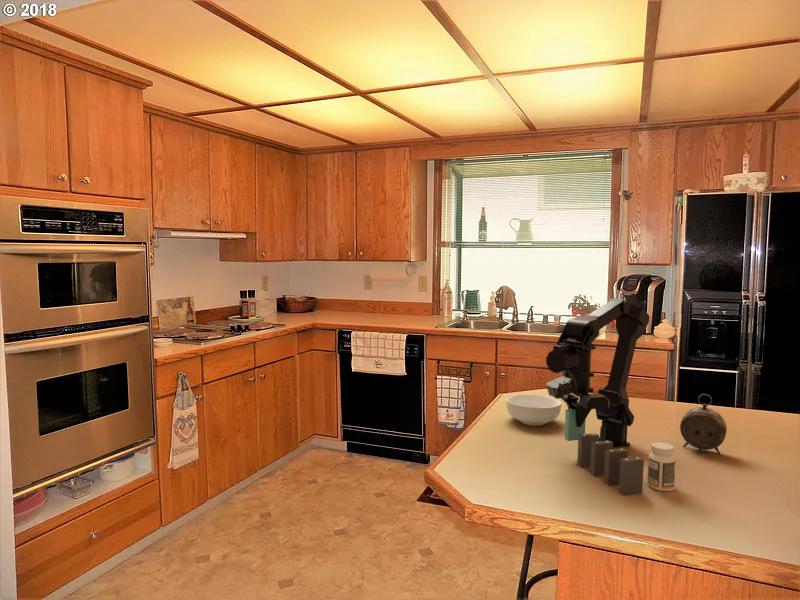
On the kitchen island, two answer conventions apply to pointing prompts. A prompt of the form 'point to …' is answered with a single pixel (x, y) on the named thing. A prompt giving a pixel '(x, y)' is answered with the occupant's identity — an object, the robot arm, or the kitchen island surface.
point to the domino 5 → (631, 476)
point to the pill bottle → (661, 467)
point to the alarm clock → (703, 428)
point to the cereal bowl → (533, 408)
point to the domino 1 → (572, 426)
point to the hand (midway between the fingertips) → (576, 425)
